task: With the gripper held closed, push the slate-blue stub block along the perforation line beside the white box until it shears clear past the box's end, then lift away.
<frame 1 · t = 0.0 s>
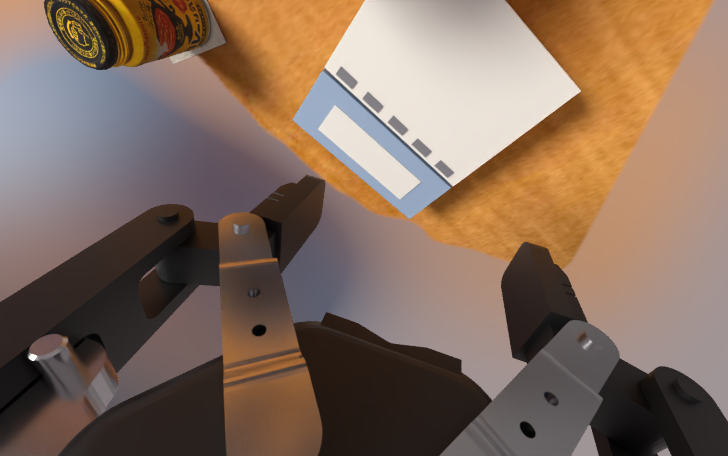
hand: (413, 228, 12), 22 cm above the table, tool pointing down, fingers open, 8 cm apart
white box: (447, 63, 28), on the table
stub: (377, 143, 32), point 3 cm above the table, slide at 0.0 cm
condiment: (181, 15, 32), on the table
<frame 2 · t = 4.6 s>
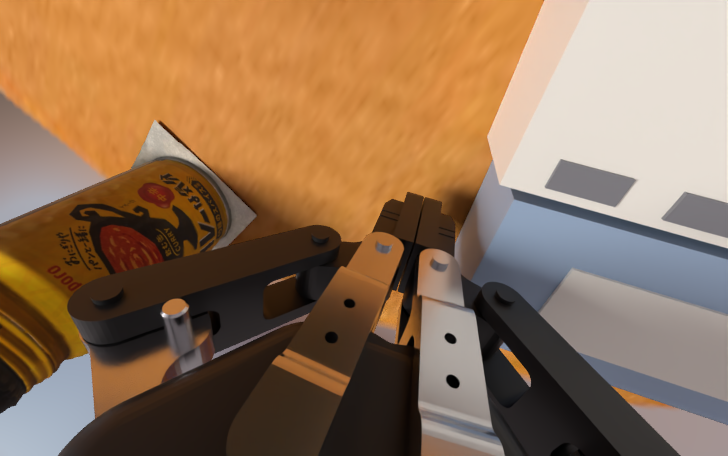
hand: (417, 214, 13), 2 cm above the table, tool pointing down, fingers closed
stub: (683, 301, 11), point 3 cm above the table, slide at 0.6 cm, touching gripper
condiment: (185, 206, 20), on the table
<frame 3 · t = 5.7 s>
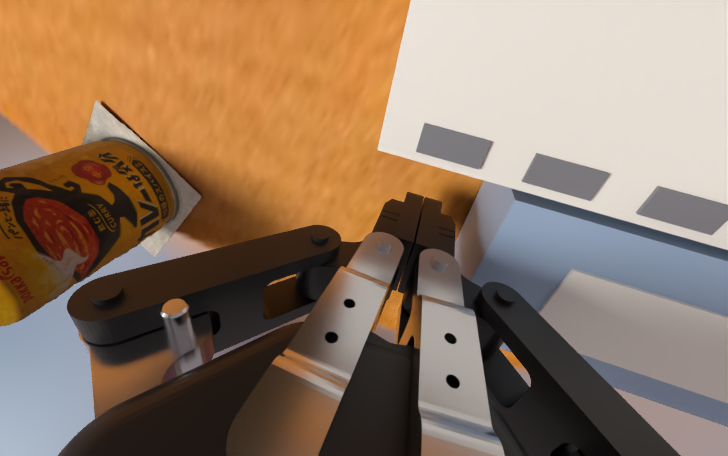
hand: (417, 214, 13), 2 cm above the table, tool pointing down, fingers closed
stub: (682, 302, 11), point 3 cm above the table, slide at 4.2 cm, touching gripper
condiment: (135, 188, 20), on the table
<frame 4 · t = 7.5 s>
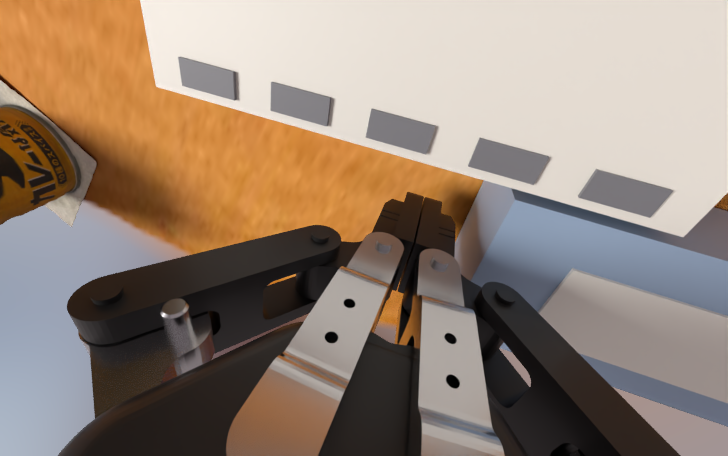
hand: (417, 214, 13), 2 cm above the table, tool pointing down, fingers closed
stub: (682, 302, 11), point 3 cm above the table, slide at 11.7 cm, touching gripper
condiment: (41, 156, 21), on the table
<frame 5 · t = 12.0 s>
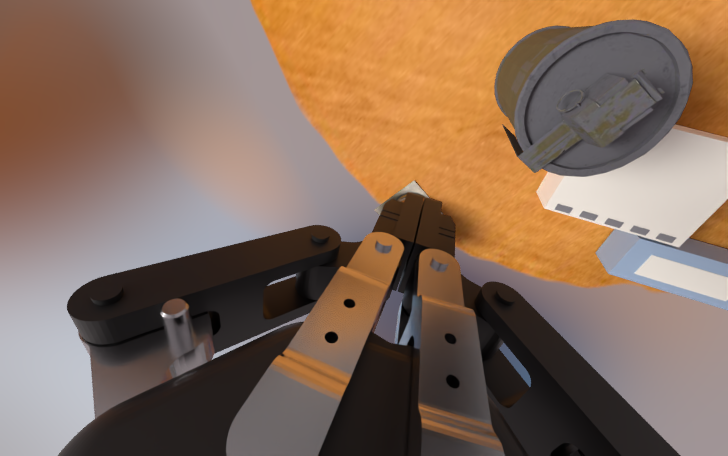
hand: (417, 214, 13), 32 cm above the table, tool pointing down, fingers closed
white box: (624, 168, 38), on the table
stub: (678, 265, 40), point 3 cm above the table, slide at 11.7 cm
condiment: (408, 210, 50), on the table
canister: (540, 80, 36), on the table
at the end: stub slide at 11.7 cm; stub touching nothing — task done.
